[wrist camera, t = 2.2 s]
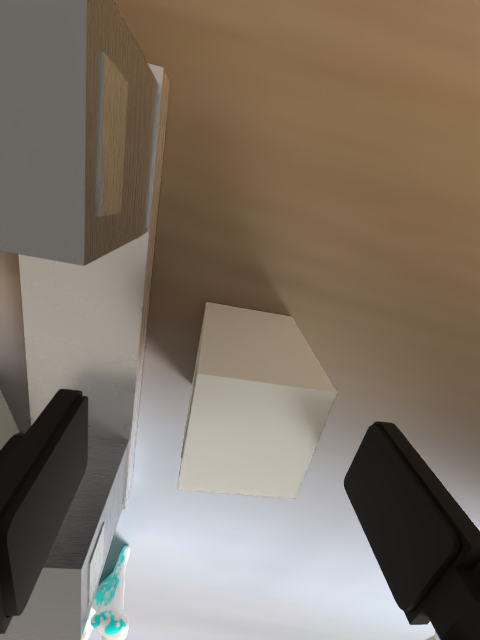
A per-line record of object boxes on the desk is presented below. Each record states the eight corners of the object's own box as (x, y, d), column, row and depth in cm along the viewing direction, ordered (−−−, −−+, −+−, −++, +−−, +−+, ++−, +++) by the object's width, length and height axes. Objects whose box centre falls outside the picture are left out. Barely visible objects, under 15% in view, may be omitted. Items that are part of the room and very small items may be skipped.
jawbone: (-2, 616, 23) (-149, 808, 14) (4, 514, 23) (-136, 637, 14) (154, 614, 24) (113, 795, 15) (159, 515, 24) (122, 633, 15)
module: (292, 316, 16) (338, 393, 10) (269, 394, 17) (296, 499, 11) (205, 301, 15) (196, 373, 9) (191, 384, 17) (176, 489, 11)
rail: (170, 82, 11) (94, -92, 4) (131, 486, 19) (83, 647, 13) (29, 45, 11) (-319, -231, 4) (50, 480, 19) (-49, 646, 12)
